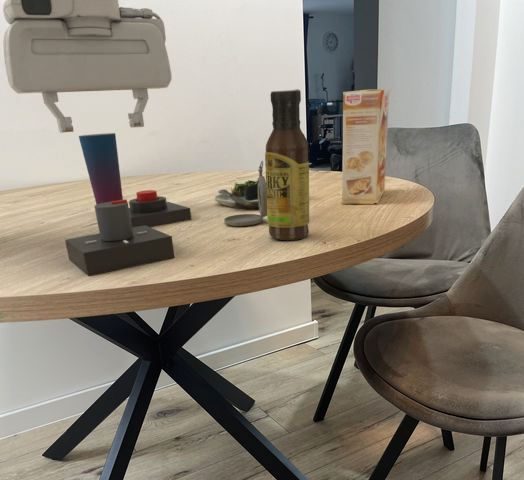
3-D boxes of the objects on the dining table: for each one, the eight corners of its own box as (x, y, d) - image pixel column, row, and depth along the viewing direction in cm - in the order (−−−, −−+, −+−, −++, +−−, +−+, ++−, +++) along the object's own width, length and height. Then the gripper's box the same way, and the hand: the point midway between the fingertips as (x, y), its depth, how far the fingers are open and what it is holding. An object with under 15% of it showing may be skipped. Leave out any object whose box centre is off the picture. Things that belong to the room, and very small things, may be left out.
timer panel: (88, 276, 65) (83, 251, 64) (69, 260, 73) (64, 238, 72) (174, 257, 71) (171, 234, 69) (148, 244, 78) (145, 224, 77)
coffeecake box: (378, 204, 96) (382, 88, 88) (340, 204, 98) (341, 91, 90) (386, 191, 109) (390, 88, 100) (352, 191, 111) (354, 91, 103)
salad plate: (191, 205, 108) (188, 182, 106) (252, 192, 119) (251, 171, 117) (253, 214, 95) (251, 188, 93) (316, 198, 106) (315, 175, 104)
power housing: (128, 231, 88) (124, 207, 86) (111, 222, 96) (107, 201, 94) (191, 220, 94) (189, 197, 92) (170, 213, 102) (167, 192, 100)
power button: (141, 204, 91) (140, 194, 90) (135, 201, 94) (133, 192, 93) (160, 201, 93) (159, 191, 92) (153, 199, 96) (152, 189, 95)
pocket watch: (217, 224, 89) (211, 163, 84) (254, 216, 93) (250, 158, 89) (246, 231, 83) (241, 166, 78) (284, 221, 87) (282, 159, 83)
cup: (88, 217, 102) (71, 136, 96) (105, 210, 108) (90, 134, 102) (118, 217, 101) (103, 134, 94) (134, 210, 106) (121, 132, 100)
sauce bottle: (260, 237, 78) (251, 92, 70) (292, 230, 81) (287, 90, 73) (286, 244, 74) (279, 89, 65) (319, 236, 77) (317, 87, 68)
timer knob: (106, 243, 68) (99, 206, 66) (96, 237, 71) (89, 202, 69) (138, 237, 70) (132, 201, 68) (127, 232, 73) (120, 197, 71)
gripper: (153, 13, 69) (167, 124, 75) (-12, 7, 60) (18, 135, 66) (171, 4, 64) (184, 124, 70) (-6, -4, 55) (26, 135, 61)
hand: (103, 129), depth 68 cm, fingers open, 8 cm apart
